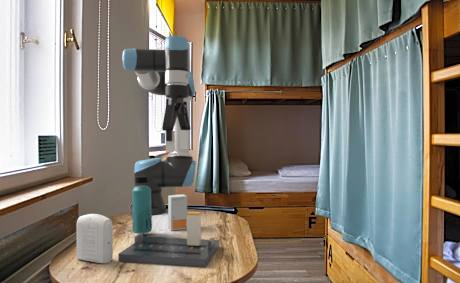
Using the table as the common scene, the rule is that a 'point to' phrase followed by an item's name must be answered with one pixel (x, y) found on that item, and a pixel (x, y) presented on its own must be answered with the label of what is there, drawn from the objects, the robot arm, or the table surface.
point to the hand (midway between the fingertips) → (177, 150)
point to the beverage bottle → (141, 207)
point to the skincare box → (177, 212)
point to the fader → (194, 228)
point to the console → (169, 251)
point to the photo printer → (94, 238)
